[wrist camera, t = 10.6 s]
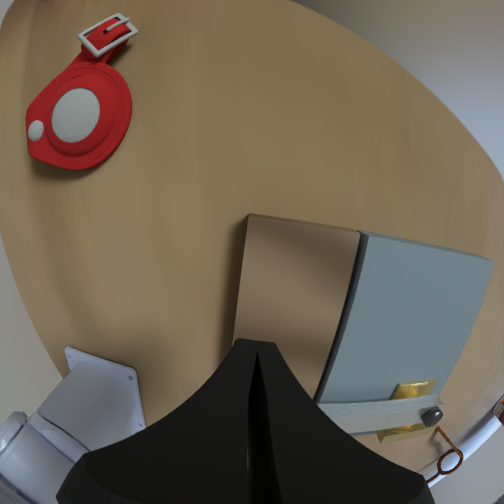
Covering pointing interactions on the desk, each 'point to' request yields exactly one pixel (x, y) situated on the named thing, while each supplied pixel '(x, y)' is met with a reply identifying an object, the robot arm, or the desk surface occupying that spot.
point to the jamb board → (295, 289)
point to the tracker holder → (84, 103)
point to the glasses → (444, 456)
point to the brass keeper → (416, 429)
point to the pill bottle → (499, 410)
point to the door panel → (402, 319)
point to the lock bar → (385, 413)
